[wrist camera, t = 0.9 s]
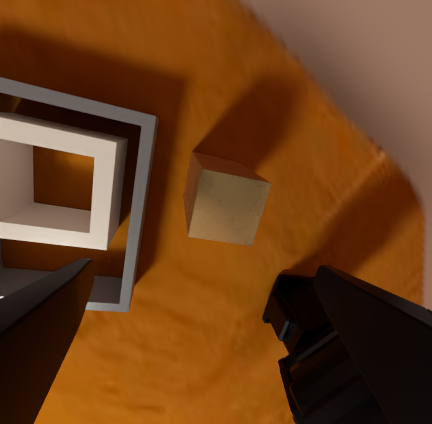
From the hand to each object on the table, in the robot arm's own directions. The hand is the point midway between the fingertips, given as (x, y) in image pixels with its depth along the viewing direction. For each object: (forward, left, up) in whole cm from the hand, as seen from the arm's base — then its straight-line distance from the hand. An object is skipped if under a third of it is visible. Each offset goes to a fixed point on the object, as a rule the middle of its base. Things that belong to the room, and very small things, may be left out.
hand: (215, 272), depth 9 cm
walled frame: (+10, +3, -13) cm, 16 cm away
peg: (-1, -1, -13) cm, 13 cm away
